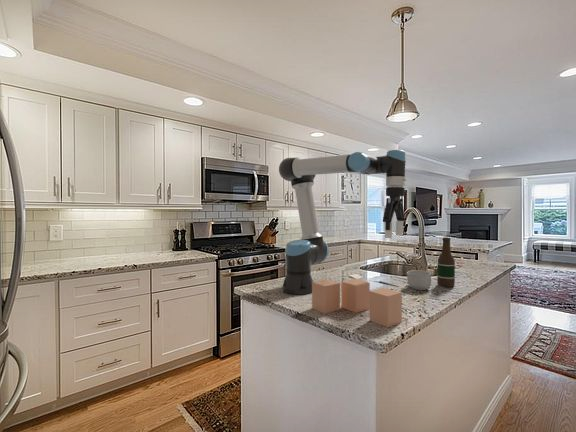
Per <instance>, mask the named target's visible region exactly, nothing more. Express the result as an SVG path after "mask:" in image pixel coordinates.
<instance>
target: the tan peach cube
mask: <svg viewBox="0 0 576 432" xmlns="http://www.w3.org/2000/svg"><path fill="white" fill-rule="evenodd" d="M402 310H403V292H401V291H398V290H394V289H389V288H385V287H381V288H377V289H373V290H370V309H369V313H368V314H369V316H368V317H369V321H370V322H373V323H376V324H377V325H380V326H383V327H386V328H390V327H392V326H395V325H398V324H401V323H402V322H403V320H402V318H403V315H402V314H403V313H402Z"/></svg>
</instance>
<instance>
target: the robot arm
mask: <svg viewBox="0 0 576 432" xmlns="http://www.w3.org/2000/svg"><path fill="white" fill-rule="evenodd" d="M406 162H407V161H406V152H405V150H403V149H392V150H387V152H386V155H382V156H380V155H379V156H374V155H370V154H367V153H365V152H362V151H361V152H360V151H355V152H353V153H351V154H341V155H340V154H339V155H332V156H331V155H329V156H322V157H321V156H319V157H310V158H301V157H299V156H298V157H286V158H284V159H283V160H282V161H281V162H280V164H279V165H278V173H279V175H280V177H281V178H282V179H283V180H285V181H287V182H290V185H291V188H292V189H294V192H295V198H296V203H297V205H296V206H297V210H298V216H299V222H300V228H301V237H300V239H296V240H291V241H289V242H287V244H286V245H285V270H286V271H285V277H284V281H283V284H282V292H284V293H285V294H289V295H309V294H312V282H314V280H313V277H312V274H311V270H312V269H311V267H312V266H313V265H317V264H321V263H322V262H325V260H326V259H327V258H328V256H329V254H330V253H329V252H330V251H329V245H328V243H327V242H326V241H324V237H323V235H322V234H321V233H320V232H319V231H320V230H319V224H318V219H317V213H316V206H315V200H314V195H313V194H314V193H313V188H312V187H313V185H314V184H315V182H314V180H315V178H316V175H328V174H329V175H330V174H345V173H346V174H347V173H360V174H361V175H367V176H368V175H379V174H380V175H381V174H384V175H385V174H386V178H385V186H386V188H385V196H386V201H385V202H386V203H385V208H384V212H383V218H382V222H383V223H384V239H392V238H393V222H392V221H393V217H394V215H395V218H396V220H395V236H402V237H403V229H404V228H403V225H404V222H405V220H406V218H405V212H404V203H403V202H404V199H403V198H401V197H404V196H405V190H406V189H405V183H406V182H407V179H406Z"/></svg>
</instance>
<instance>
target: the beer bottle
mask: <svg viewBox="0 0 576 432" xmlns="http://www.w3.org/2000/svg"><path fill="white" fill-rule="evenodd" d="M441 240H442V246H441V254H439V256H438V258H437V266H436V267H437V270H436V271H437V272H436V273H437V274H436V275H437V279H436V280H437V286H439V287H440V288H447V289H448V288H454V287H455V283H456V282H455V280H456V272H455V271H456V261H455V258H454V256H453V254H452V251H451V238H450V237H449V236H448V237H445V236H444V237H442V238H441Z"/></svg>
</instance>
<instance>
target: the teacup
mask: <svg viewBox="0 0 576 432" xmlns="http://www.w3.org/2000/svg"><path fill="white" fill-rule="evenodd" d="M406 279H407V285H408V286H409V287H410V288H411V289H413V290H415V291H426V290H428V289H429V288H430V287H431V284H432V273H431V272H430V271H428V270H421V269H420V270H417V269H416V270H415V269H411V270H408V271H407V272H406Z"/></svg>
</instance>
